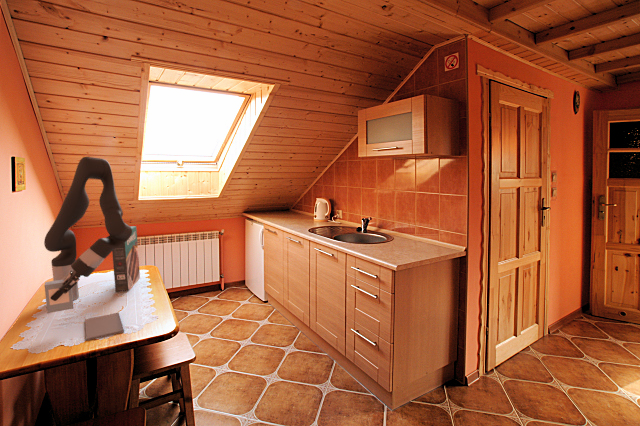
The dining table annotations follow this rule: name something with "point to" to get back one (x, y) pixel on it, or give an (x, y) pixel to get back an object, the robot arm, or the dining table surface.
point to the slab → (62, 302)
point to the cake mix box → (126, 263)
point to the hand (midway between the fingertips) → (53, 297)
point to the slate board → (103, 326)
